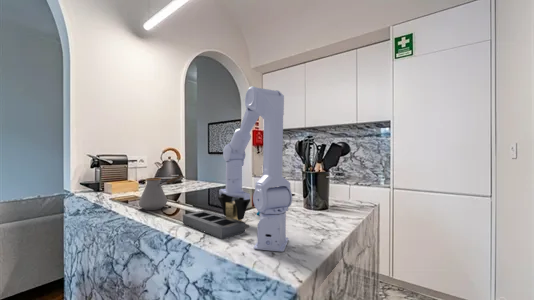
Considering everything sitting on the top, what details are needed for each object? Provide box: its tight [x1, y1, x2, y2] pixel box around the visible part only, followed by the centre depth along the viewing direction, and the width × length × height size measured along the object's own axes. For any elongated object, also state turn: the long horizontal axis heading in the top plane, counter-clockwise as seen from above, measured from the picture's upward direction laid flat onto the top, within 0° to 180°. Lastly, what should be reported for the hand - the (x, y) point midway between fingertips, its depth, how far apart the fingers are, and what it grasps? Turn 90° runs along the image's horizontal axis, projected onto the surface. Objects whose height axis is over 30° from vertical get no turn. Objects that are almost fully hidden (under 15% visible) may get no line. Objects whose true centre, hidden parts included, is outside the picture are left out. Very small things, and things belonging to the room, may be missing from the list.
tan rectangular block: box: [226, 200, 243, 222], centre depth 90 cm, size 4×4×7 cm
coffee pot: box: [138, 174, 186, 211], centre depth 108 cm, size 21×12×15 cm, turn 71°
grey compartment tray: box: [182, 210, 246, 240], centre depth 83 cm, size 22×9×3 cm, turn 47°
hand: (233, 217), depth 90 cm, fingers open, 7 cm apart
